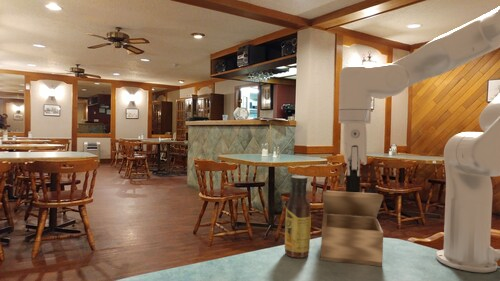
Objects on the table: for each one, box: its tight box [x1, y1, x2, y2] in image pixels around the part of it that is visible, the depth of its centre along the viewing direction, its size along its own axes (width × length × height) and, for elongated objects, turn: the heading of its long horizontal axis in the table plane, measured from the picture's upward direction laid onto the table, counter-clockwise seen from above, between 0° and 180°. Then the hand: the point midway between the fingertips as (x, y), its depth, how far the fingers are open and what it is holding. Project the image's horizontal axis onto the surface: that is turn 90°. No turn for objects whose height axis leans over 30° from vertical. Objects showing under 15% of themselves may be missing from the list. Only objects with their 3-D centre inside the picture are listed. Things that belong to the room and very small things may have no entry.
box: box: [320, 213, 384, 267], centre depth 91 cm, size 14×14×8 cm
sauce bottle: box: [284, 175, 312, 259], centre depth 89 cm, size 6×6×20 cm
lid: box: [322, 190, 384, 218], centre depth 92 cm, size 14×14×1 cm
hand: (352, 191), depth 87 cm, fingers closed
